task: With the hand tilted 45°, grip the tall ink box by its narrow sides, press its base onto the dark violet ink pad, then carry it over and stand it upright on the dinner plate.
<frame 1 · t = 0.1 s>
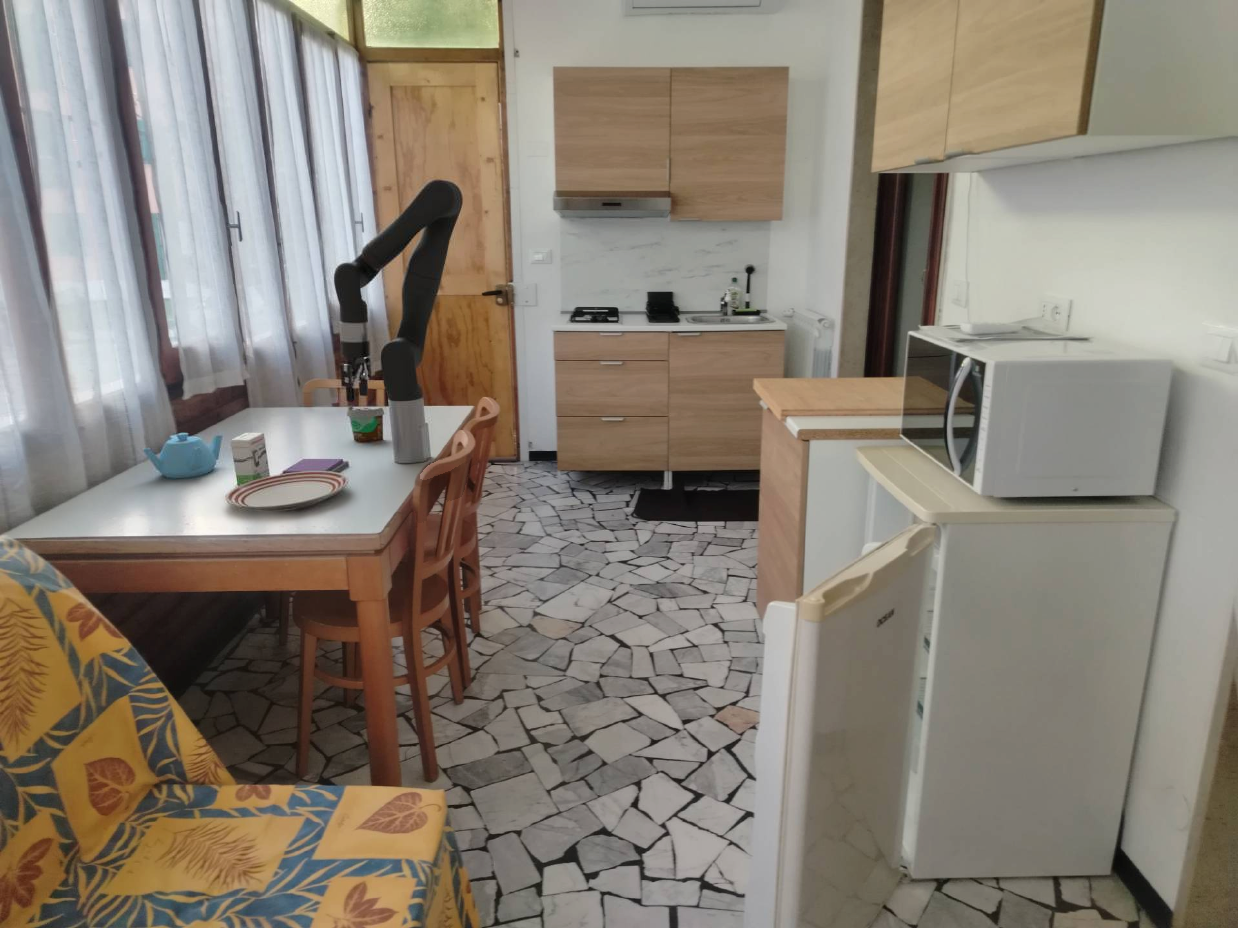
hand: (357, 398, 227), 17 cm above the table, tool pointing down, fingers open, 8 cm apart
ink box: (254, 481, 215), on the table
teapot: (189, 473, 223), on the table
food container: (364, 441, 253), on the table
dinner plate: (290, 500, 199), on the table
ink pad: (314, 472, 220), on the table
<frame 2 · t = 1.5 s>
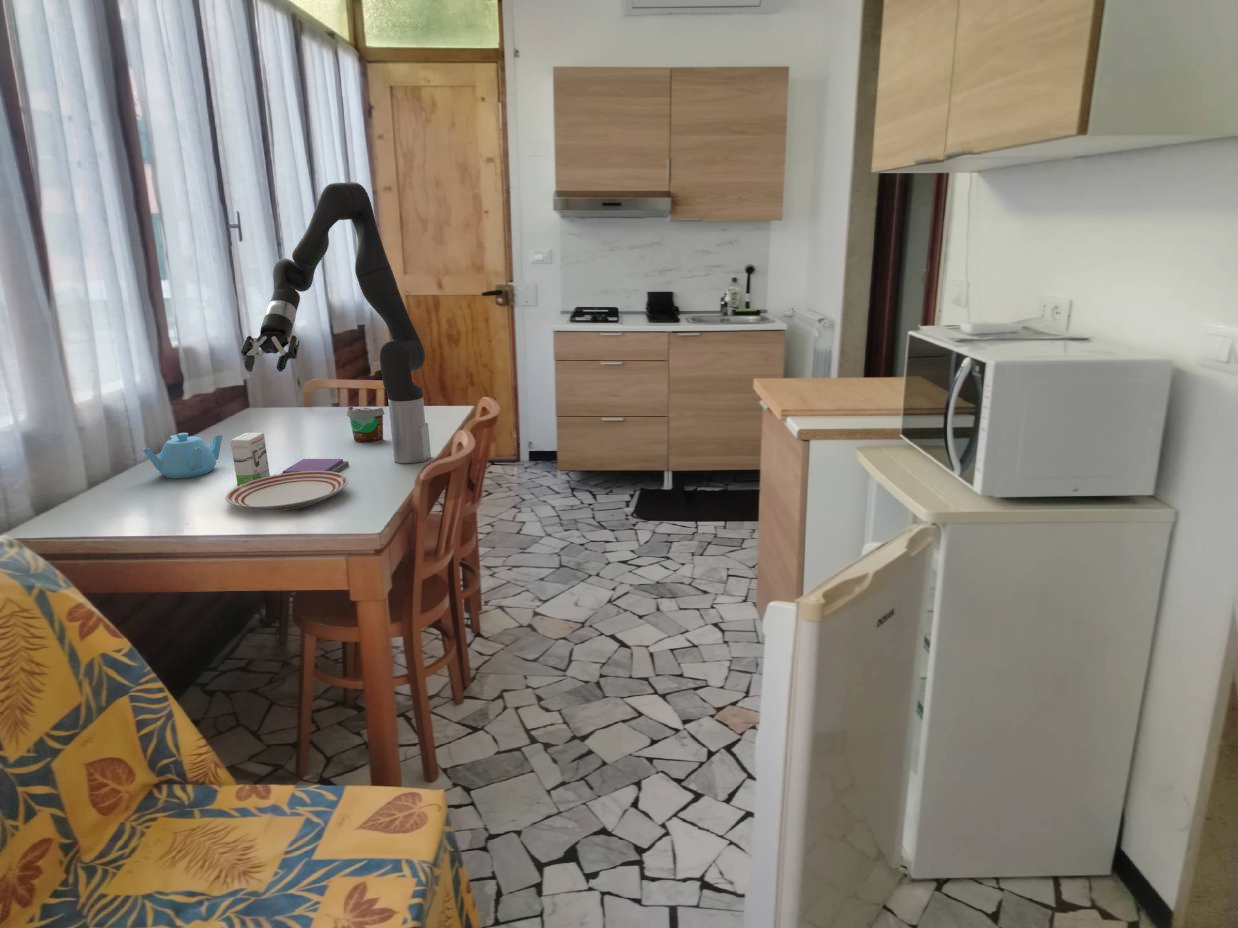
hand: (263, 370, 219), 27 cm above the table, tool tilted 45°, fingers open, 8 cm apart
nothing on the table moved.
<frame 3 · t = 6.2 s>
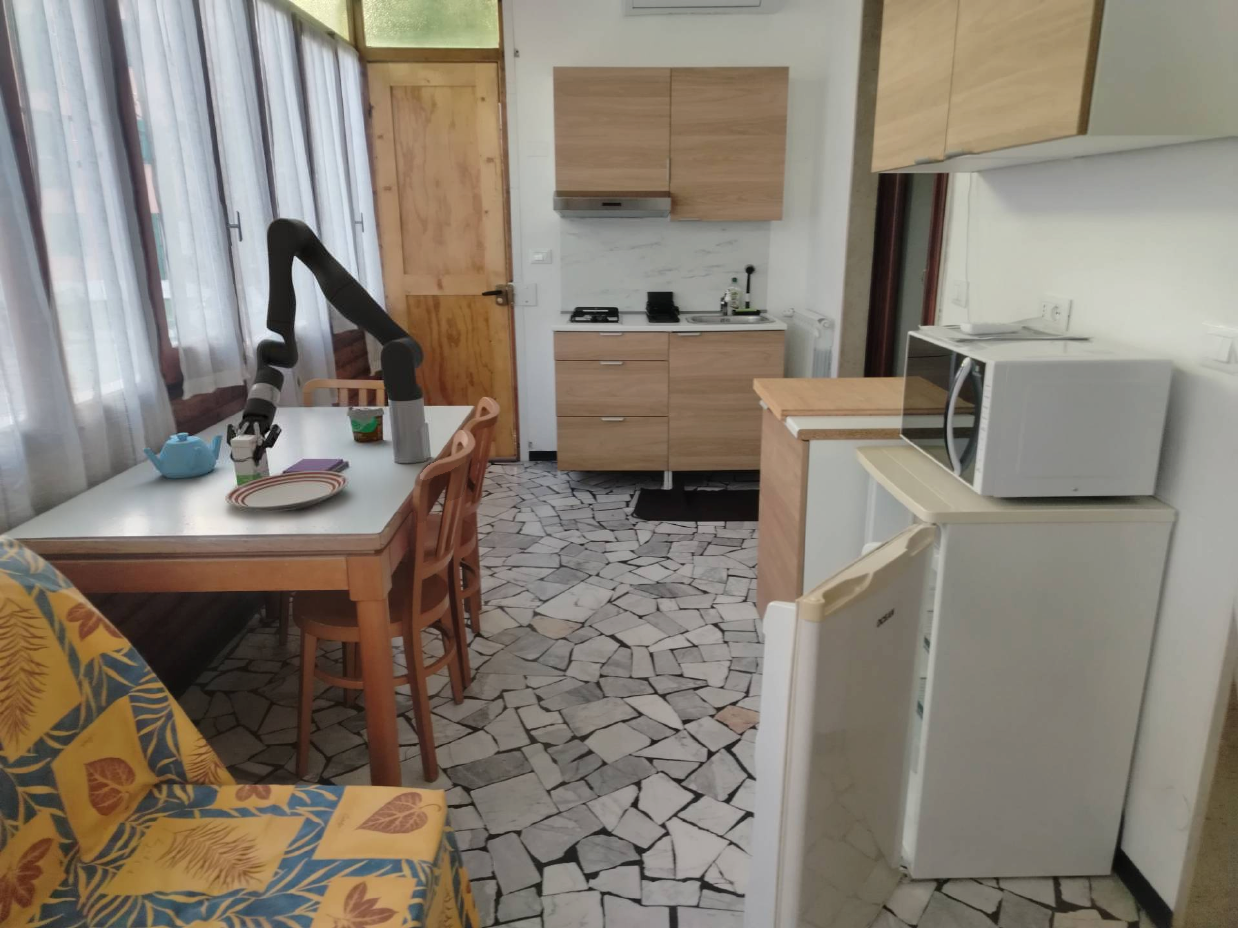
hand: (244, 460, 210), 6 cm above the table, tool tilted 45°, fingers closed on ink box, 5 cm apart
ink box: (254, 480, 215), on the table, touching gripper
everything else where it was.
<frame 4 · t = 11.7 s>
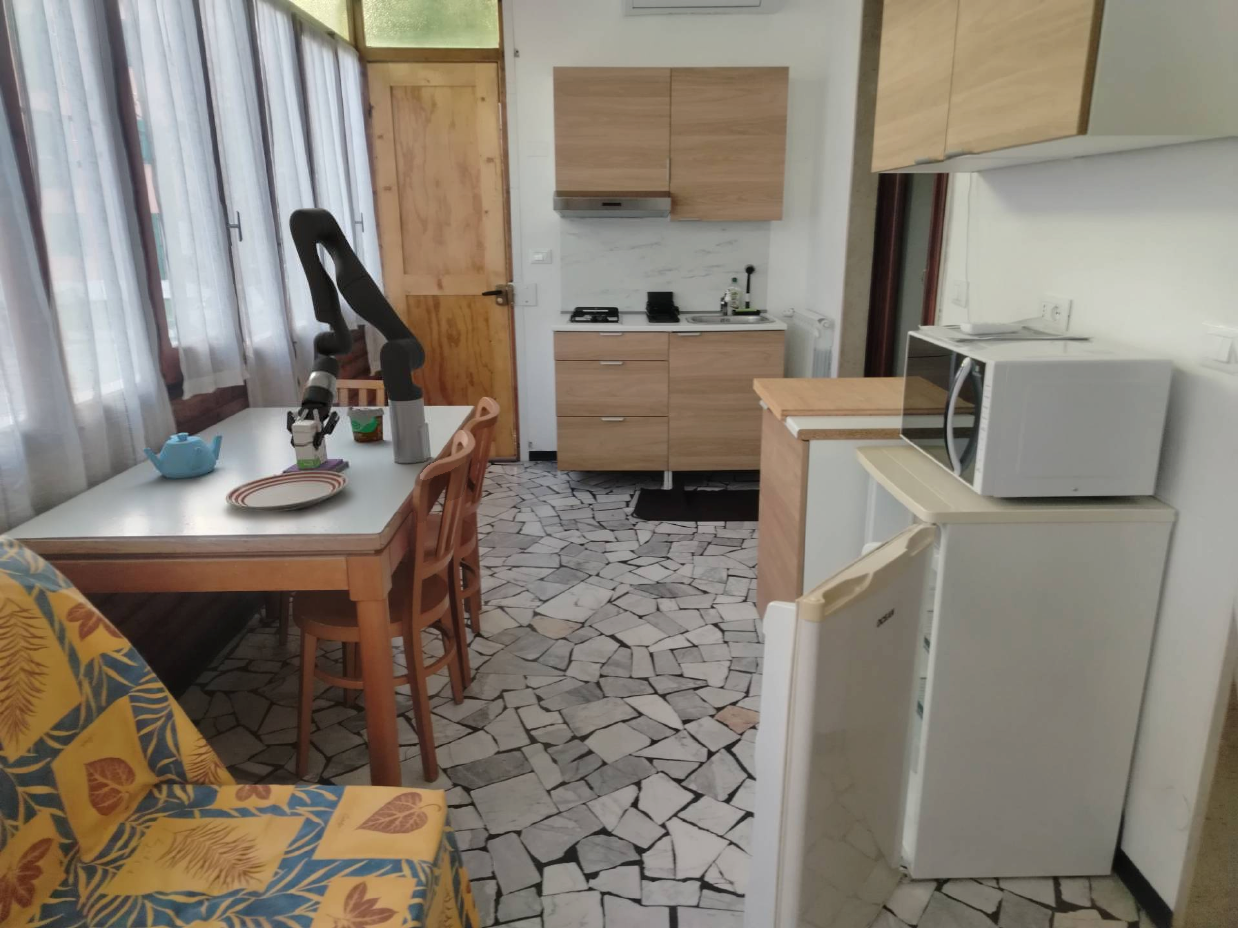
hand: (304, 446, 215), 8 cm above the table, tool tilted 45°, fingers closed on ink box, 5 cm apart
ink box: (313, 465, 220), point 2 cm above the table, touching gripper, ink pad
everything else where it was.
when the fingers open (10 cm above the table, at t = 17.1 s): ink box drops 1 cm, resting on dinner plate.
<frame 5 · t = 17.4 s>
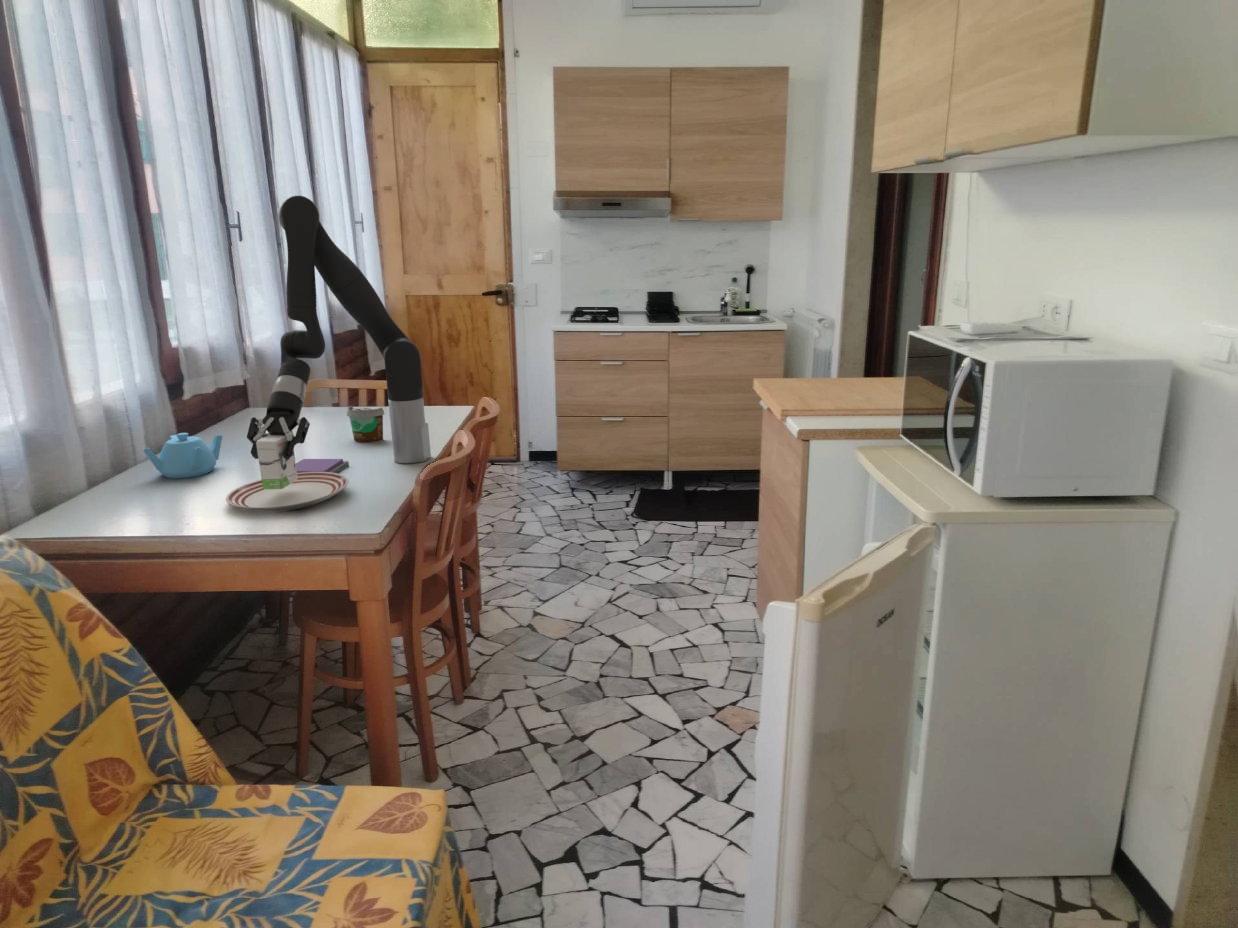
hand: (270, 457, 195), 10 cm above the table, tool tilted 45°, fingers open, 7 cm apart
ink box: (280, 485, 200), point 3 cm above the table, touching dinner plate
dinner plate: (290, 500, 199), on the table, touching ink box
everything else where it was.
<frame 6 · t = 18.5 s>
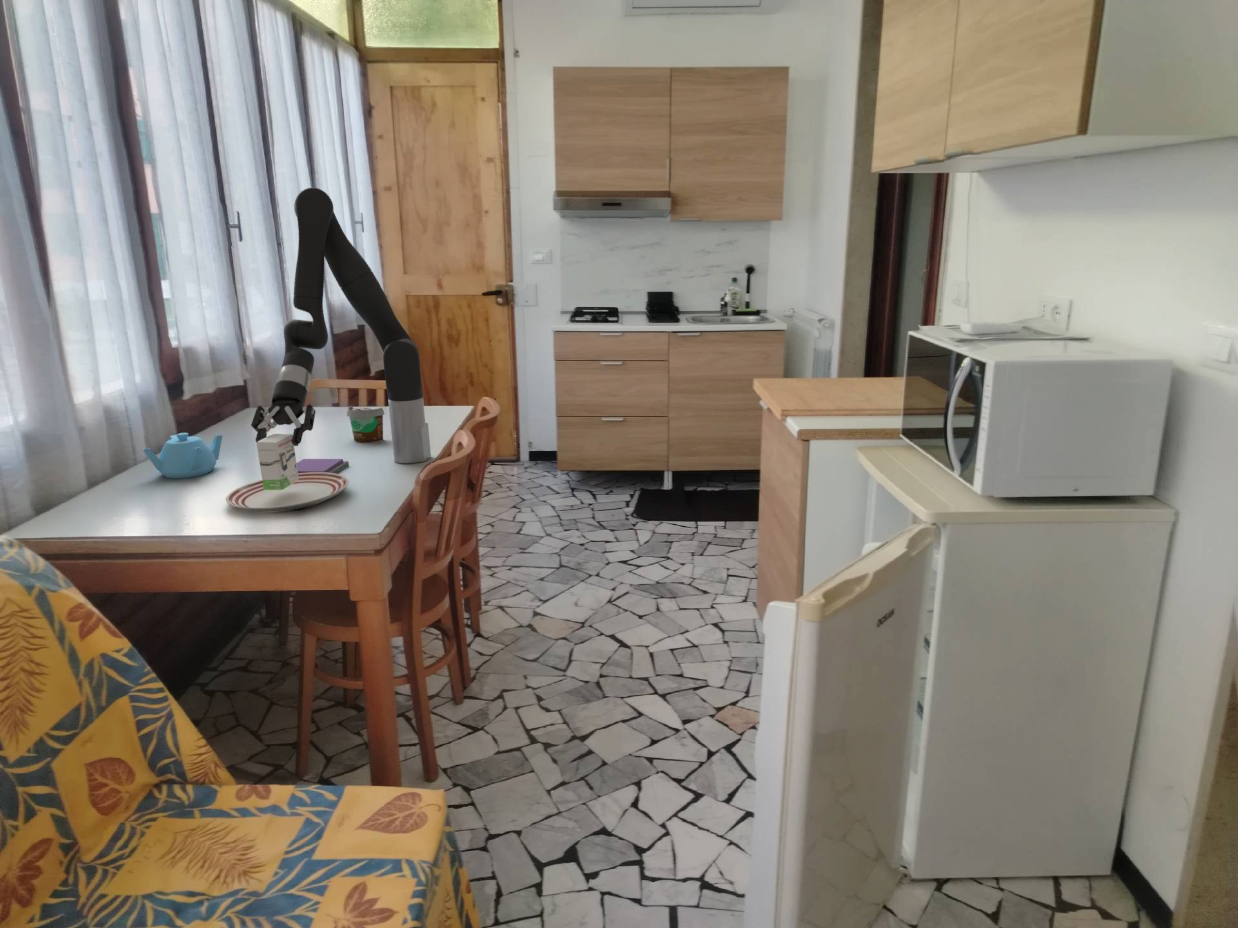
hand: (277, 444, 197), 13 cm above the table, tool tilted 45°, fingers open, 8 cm apart
nothing on the table moved.
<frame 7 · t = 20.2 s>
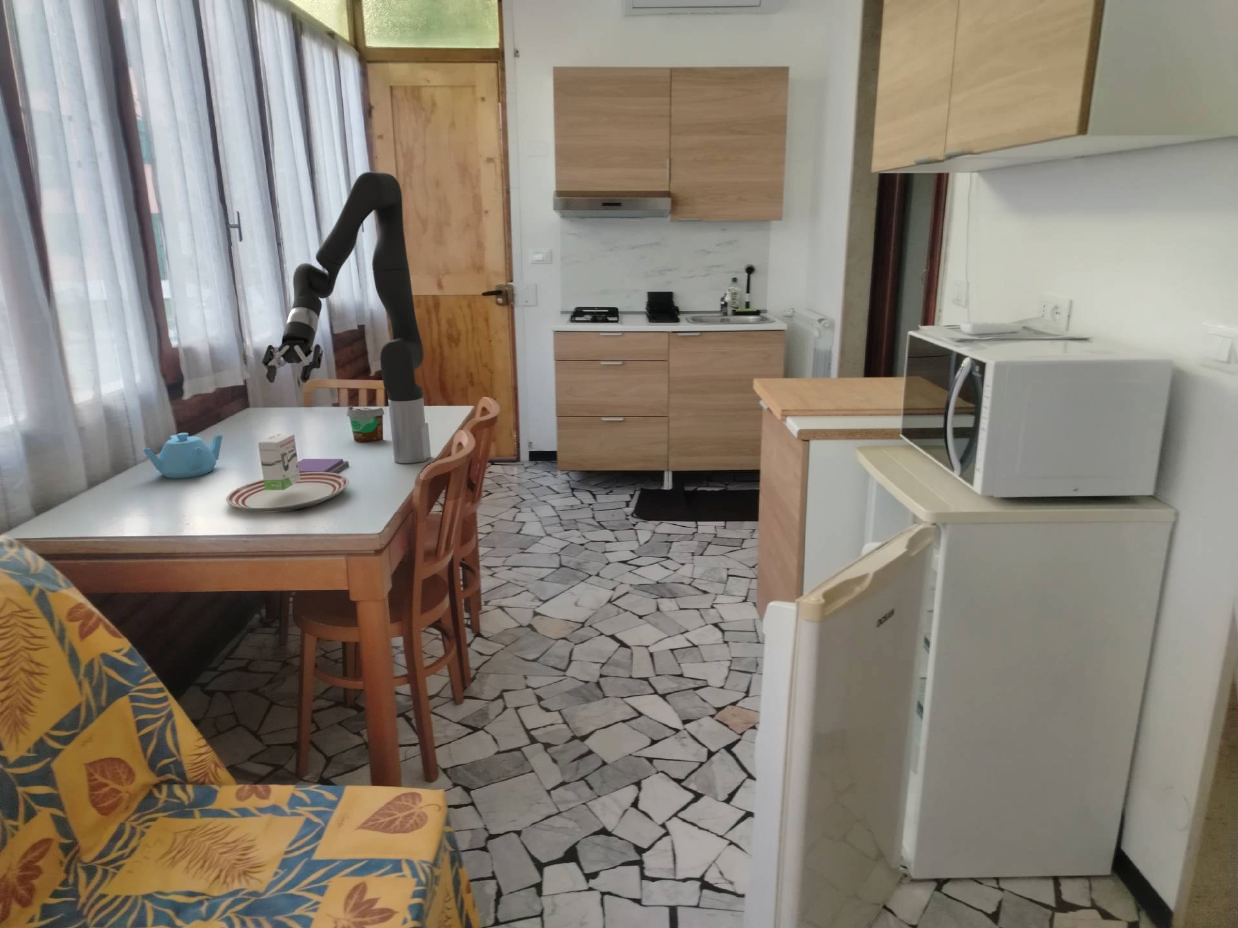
hand: (286, 380, 209), 25 cm above the table, tool tilted 45°, fingers open, 8 cm apart
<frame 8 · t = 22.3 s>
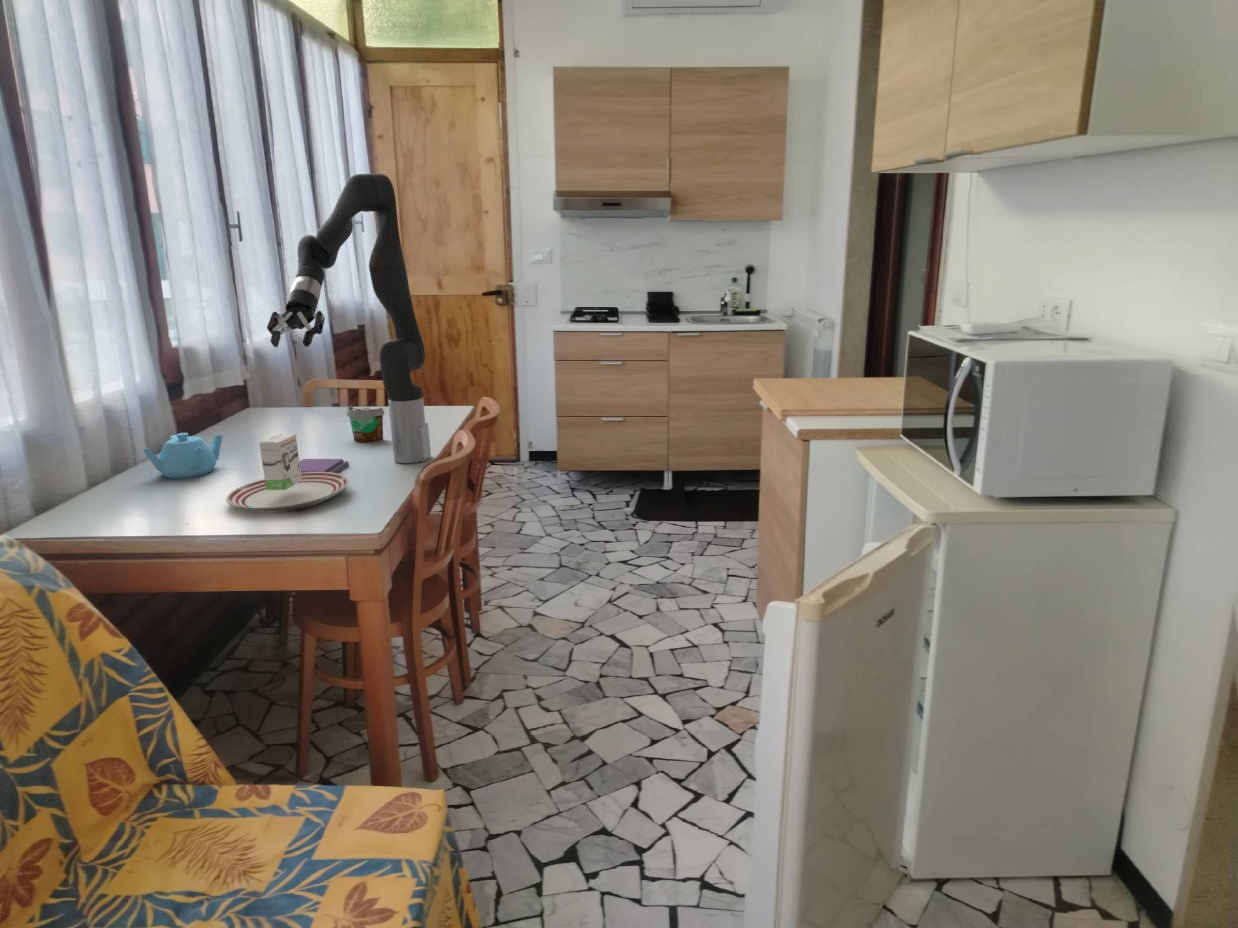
hand: (289, 345, 219), 33 cm above the table, tool tilted 45°, fingers open, 8 cm apart
at the end: ink box 2.1 cm from the dinner plate (horizontally); ink box tilted 0°; the gripper is holding nothing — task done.
